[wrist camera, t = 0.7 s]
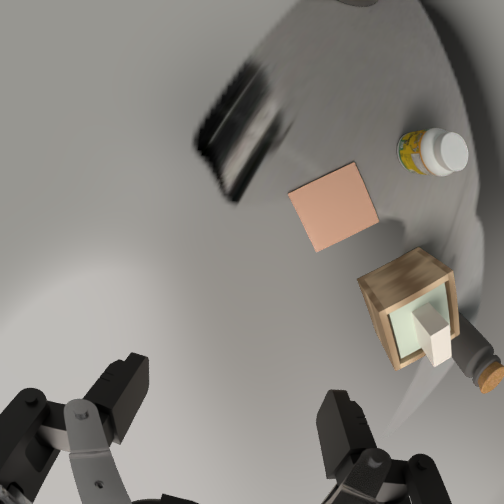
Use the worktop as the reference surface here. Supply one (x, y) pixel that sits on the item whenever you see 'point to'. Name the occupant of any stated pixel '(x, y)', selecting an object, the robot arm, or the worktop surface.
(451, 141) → the supplement bottle
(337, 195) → the plate
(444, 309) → the lid
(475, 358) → the bottle
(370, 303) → the crate
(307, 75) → the worktop surface
